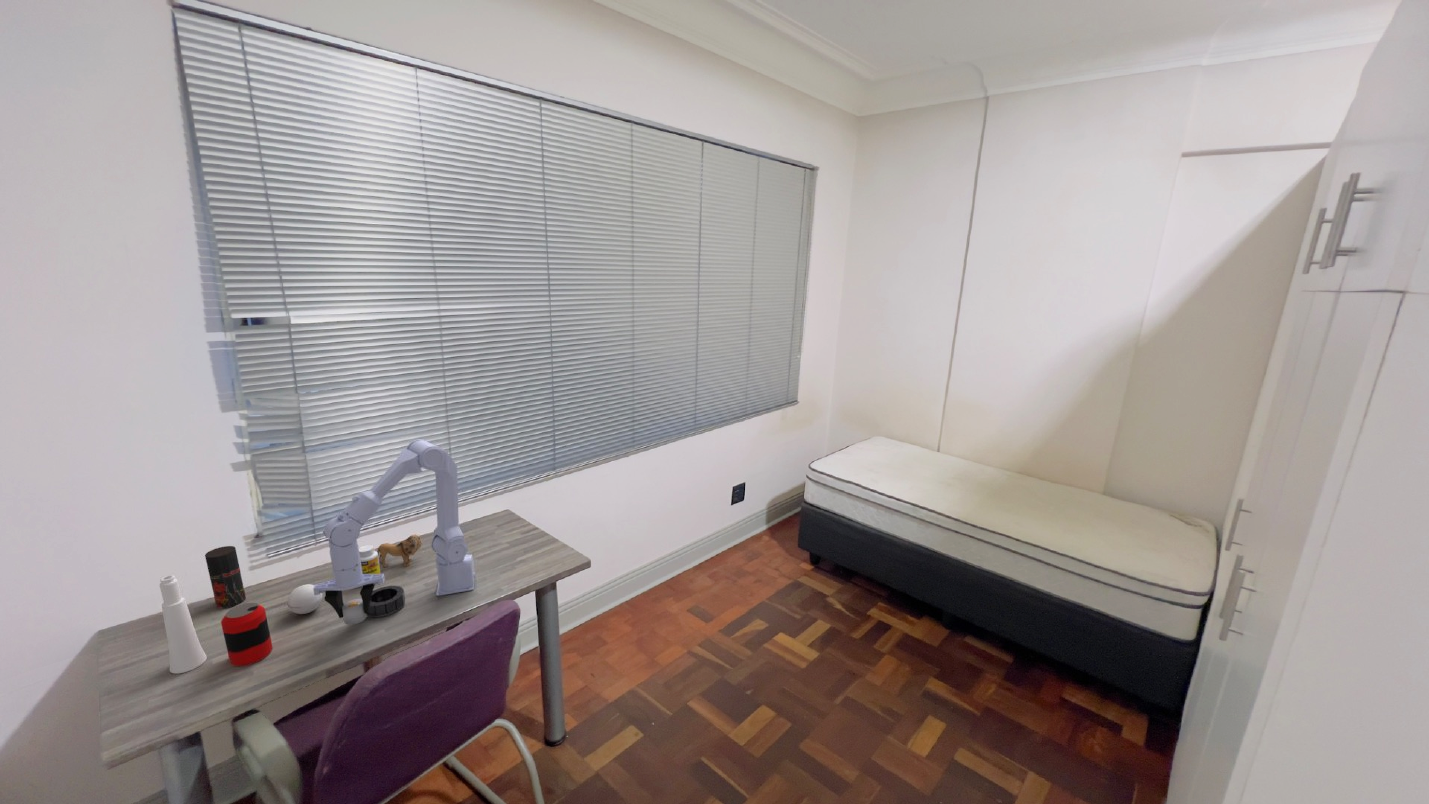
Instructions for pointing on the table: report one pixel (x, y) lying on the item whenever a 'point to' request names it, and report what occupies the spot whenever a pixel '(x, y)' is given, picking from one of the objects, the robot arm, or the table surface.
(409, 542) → the lion figurine
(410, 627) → the table surface
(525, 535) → the table surface
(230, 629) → the soda can
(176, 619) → the cosmetic bottle
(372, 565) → the supplement bottle
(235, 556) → the deodorant
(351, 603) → the boiled egg half
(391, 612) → the dark grey round ring
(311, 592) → the white egg
